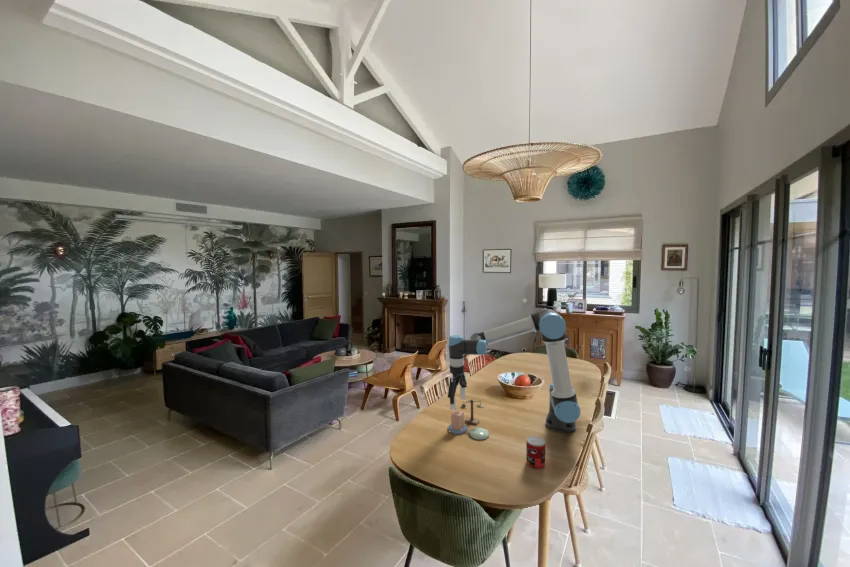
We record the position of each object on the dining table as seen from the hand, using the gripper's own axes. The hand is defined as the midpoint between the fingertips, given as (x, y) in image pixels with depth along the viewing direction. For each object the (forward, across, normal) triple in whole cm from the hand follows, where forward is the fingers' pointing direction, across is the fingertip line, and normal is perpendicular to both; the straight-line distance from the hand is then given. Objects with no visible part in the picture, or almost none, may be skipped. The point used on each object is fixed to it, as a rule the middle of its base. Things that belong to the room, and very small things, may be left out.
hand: (458, 404), depth 186 cm
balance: (+14, -11, +3) cm, 18 cm away
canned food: (+15, +13, +42) cm, 47 cm away
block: (+13, 0, -1) cm, 13 cm away
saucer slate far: (+14, 0, -1) cm, 14 cm away
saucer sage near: (+14, 0, +11) cm, 18 cm away
